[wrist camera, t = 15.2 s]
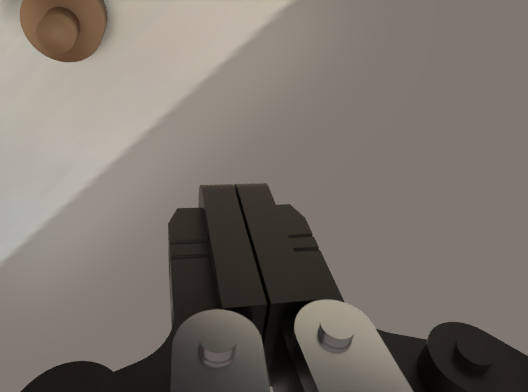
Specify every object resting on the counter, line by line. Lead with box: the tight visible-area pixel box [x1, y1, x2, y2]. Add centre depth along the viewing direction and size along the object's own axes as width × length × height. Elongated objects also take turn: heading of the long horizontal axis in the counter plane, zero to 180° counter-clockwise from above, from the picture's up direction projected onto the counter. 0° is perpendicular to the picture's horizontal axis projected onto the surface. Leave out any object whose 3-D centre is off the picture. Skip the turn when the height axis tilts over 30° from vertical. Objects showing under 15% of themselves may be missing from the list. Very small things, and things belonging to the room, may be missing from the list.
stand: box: [20, 0, 107, 62], centre depth 33 cm, size 6×6×7 cm
